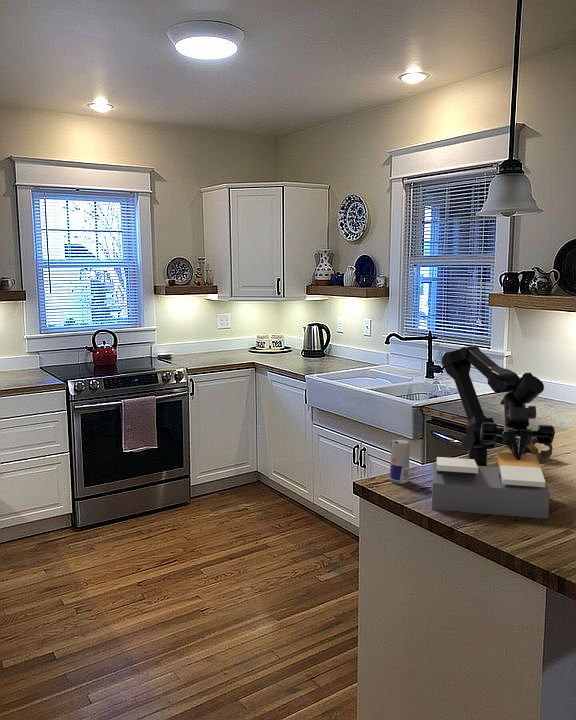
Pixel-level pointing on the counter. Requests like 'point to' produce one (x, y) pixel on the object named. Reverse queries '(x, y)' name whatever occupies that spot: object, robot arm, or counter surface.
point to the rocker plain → (456, 465)
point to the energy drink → (399, 461)
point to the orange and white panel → (520, 470)
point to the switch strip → (487, 494)
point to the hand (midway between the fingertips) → (518, 460)
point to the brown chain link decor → (534, 450)
